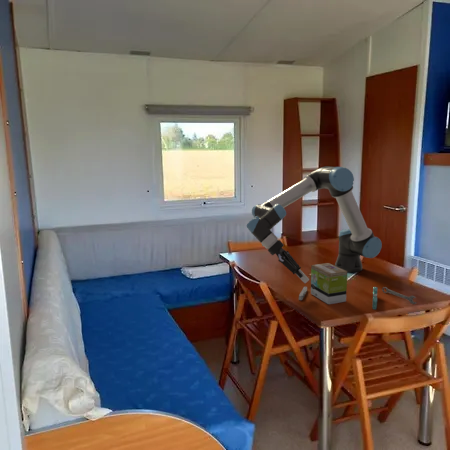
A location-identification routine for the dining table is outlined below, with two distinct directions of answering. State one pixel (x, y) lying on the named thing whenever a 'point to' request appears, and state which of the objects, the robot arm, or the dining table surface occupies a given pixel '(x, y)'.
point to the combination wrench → (399, 295)
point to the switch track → (374, 305)
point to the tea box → (328, 283)
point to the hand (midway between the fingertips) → (307, 281)
